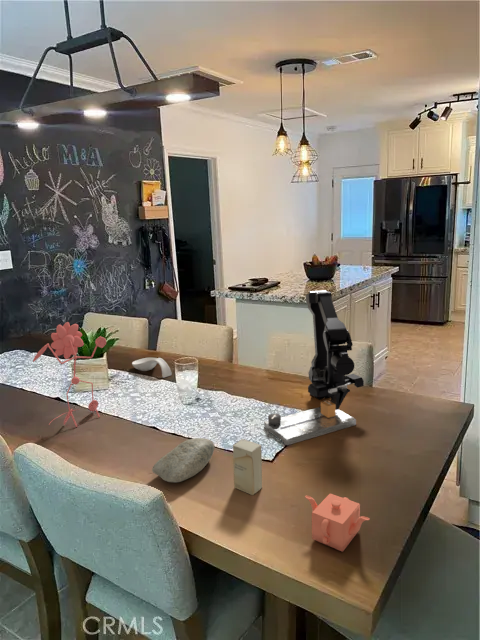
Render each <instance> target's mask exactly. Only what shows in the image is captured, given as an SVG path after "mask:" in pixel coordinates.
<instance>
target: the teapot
mask: <svg viewBox="0 0 480 640" xmlns="http://www.w3.org/2000/svg"><path fill="white" fill-rule="evenodd" d="M304 498H306V499H307V500H308V501H309V503H310V505H311V510H312V512H311V539H312V540H314V541H316V542H318V543H321V544H323V545H325V546H328V547H331V548H333V549H335V550H337V551H340V552H344V551H345V550H346V549H347V547H348V546H349V544H350V543H351V542H352V541H353V540H354V538H355V536H356V535H357V534H358V532H360V529H361V527H362V524H363V523H364V522H365V521H370V517H368V516H364V515H362V516H361V515H360V514H361V503H359V502H356V501H353V500H351V499H349V497H345V496H344V497H342V496H338V495H335V494H333V493H329V494H328V495H326V497H325V498H324V499H323V500H322V501H321V502H320V503H319V504H317V502H316V500H315V499H314V498H313V497H312V496H310V495H305V496H304Z"/></svg>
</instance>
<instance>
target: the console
mask: <svg viewBox="0 0 480 640" xmlns="http://www.w3.org/2000/svg"><path fill="white" fill-rule="evenodd" d="M263 424H264V429H266V430H267V431H268V432H269V431H270V433H271V434H272V433H273V434H274V435H273V434H272V435H273V436H274V437H276V436H277V437H278V438H279V439H278V438H277V437H276V438H277V439H278V440H280V439H281V440H282V441H283V442H284V443H283V442H282V441H281V440H280V441H281V442H282V443H283V444H285V446H290V445H292V444H296V443H300V442H303V441H307V440H310V439H313V438H317V437H319V436H320V437H321V436H323V435H326V434H330V433H334V432H337V431H340V430H343V429H347V428H350V427H353V426H354V427H355V426H356V425H357V419H356V418H354V417H353V416H351V415H349V414H348V413H346V412H344V411H343V410H340V408H339V409H338V410H336V416H333V417H329V418H327V417H326V416H324V415H323V414H321V406H319V407H315V408H312V409H307V410H303V411H300V412H295V413H292V414H289V415H284V416H281V423H280V424H277V425H272V424H269V422H268V420H266V421H263Z"/></svg>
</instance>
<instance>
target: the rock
mask: <svg viewBox="0 0 480 640" xmlns="http://www.w3.org/2000/svg"><path fill="white" fill-rule="evenodd" d="M215 448H216V446H215V444H214V442H213V440H211V439H208V438H203V437H197V438H189V439H187V440H184V441H183V442H181V443H179V444H178V445H176V446H175V447H174V448H173V449H171V451H169V452H167V453H166V454H165V455H164V456H162V457H161V458H160V459H158V461H156V462H155V463H154V464H153V466H152V468H151V471H152V473H153V474H155V475H157V476H158V477H159V478H161V479H162V480H163V481H165V482H168V483H181V482H183V481H186V480H188V479H190V478H193V477H195V476H196V475H197V474H199V472H201V471H202V470H203V469H204V468H205V466H207V464H208V463H209V462H210V460H211V459H212V457H213V455H214V451H215Z"/></svg>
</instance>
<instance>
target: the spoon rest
mask: <svg viewBox="0 0 480 640" xmlns="http://www.w3.org/2000/svg"><path fill="white" fill-rule="evenodd" d="M157 364H158V365H159V368H160V369H161V376H162V378H168V377H170V376H172V375H173V374H172V369H171V367H170V366H169V364H168V363H167V362H166V360H164V359H163V358H161V357H158V358H157V357H145V358H144V357H143V358H140V359H136V360H134V361H132V362H131V365H132V367H134V369H136V370H138V371H141V372H147V371H150V370H153V369H154V368H155V367H156V366H157Z"/></svg>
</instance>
